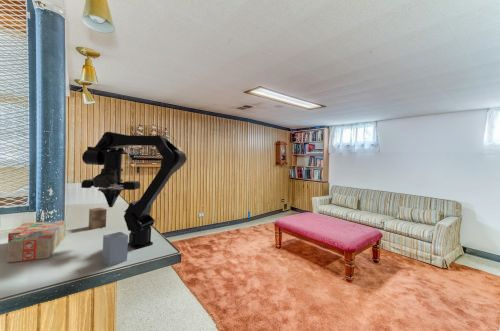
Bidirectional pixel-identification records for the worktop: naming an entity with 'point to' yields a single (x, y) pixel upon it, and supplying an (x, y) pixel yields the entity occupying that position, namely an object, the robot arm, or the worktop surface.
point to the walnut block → (97, 218)
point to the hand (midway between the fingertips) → (110, 207)
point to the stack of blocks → (35, 240)
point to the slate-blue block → (115, 248)
